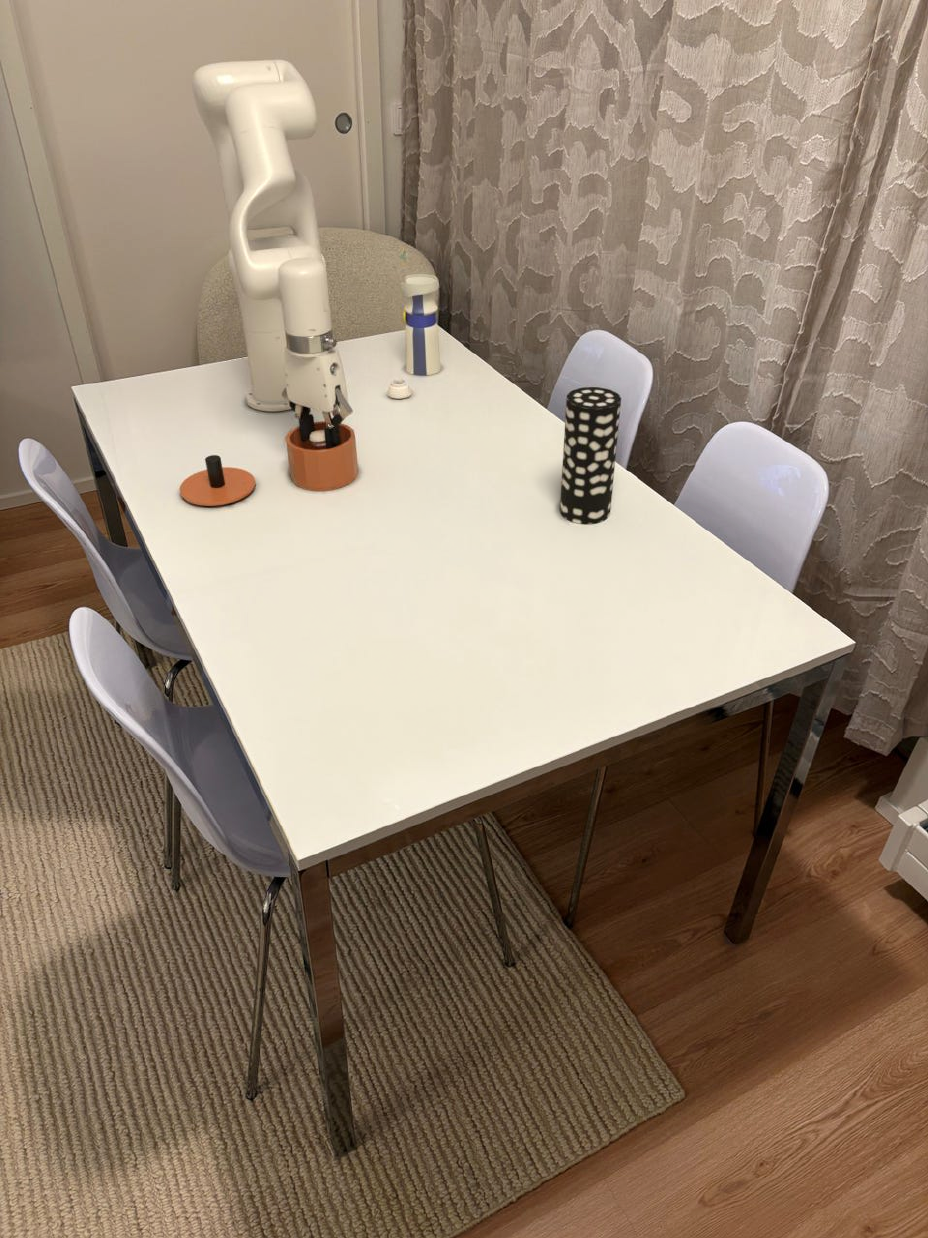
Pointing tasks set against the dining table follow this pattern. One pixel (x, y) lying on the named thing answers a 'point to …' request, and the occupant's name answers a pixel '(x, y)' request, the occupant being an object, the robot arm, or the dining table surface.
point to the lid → (217, 484)
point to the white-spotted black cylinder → (589, 454)
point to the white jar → (399, 389)
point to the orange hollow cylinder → (322, 460)
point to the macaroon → (318, 438)
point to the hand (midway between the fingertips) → (320, 441)
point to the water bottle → (420, 323)
